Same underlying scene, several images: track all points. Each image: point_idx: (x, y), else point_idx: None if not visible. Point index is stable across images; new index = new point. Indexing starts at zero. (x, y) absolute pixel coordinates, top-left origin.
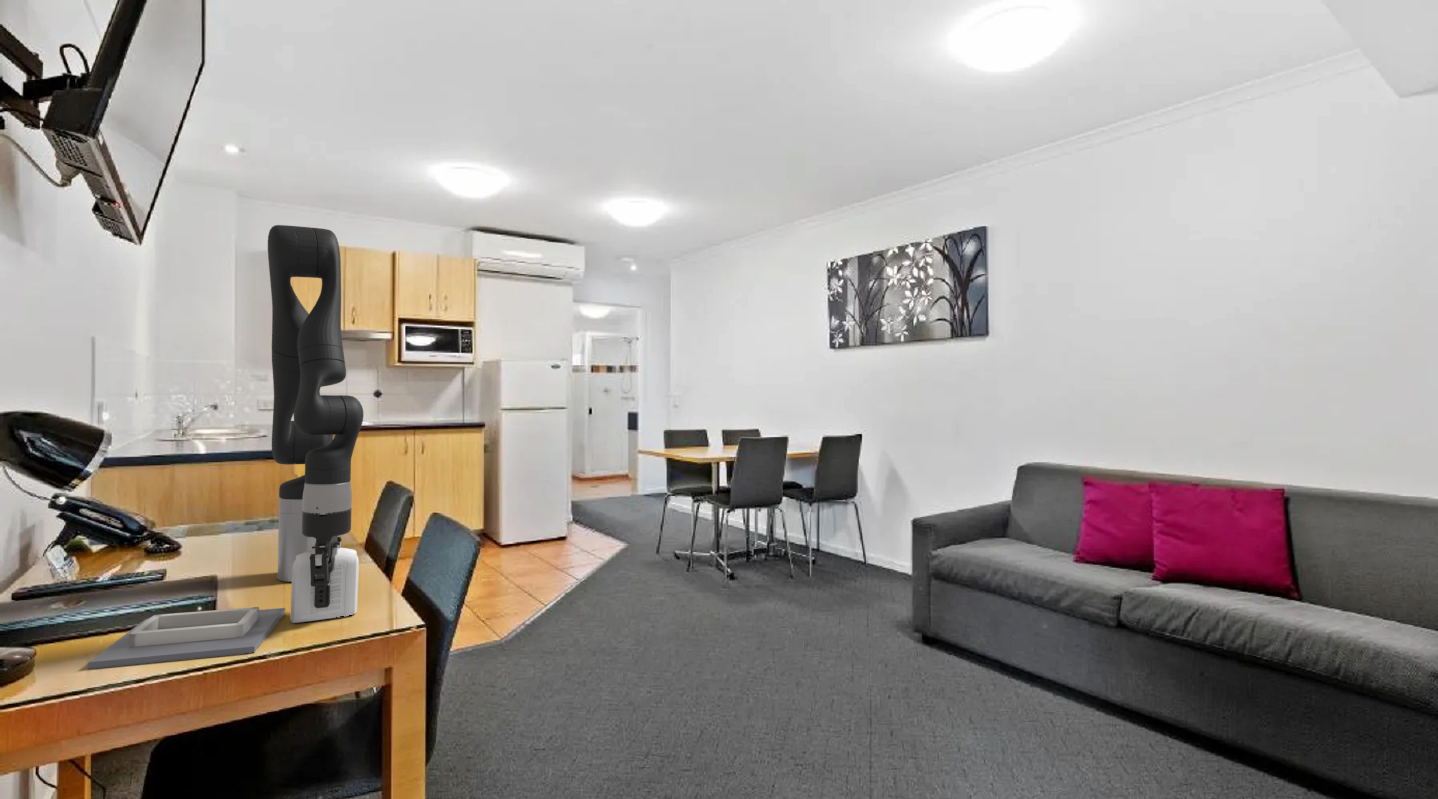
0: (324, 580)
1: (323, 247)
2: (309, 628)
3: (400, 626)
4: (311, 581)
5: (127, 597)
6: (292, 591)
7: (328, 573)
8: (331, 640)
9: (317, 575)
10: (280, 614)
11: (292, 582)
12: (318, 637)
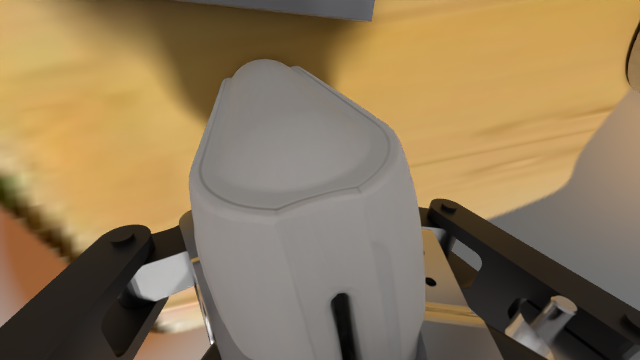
0: (107, 310)
1: None
2: (181, 132)
3: (170, 317)
4: (81, 258)
5: None
6: (243, 87)
7: (139, 345)
8: (55, 214)
9: None
10: (305, 14)
11: (250, 95)
12: (85, 175)
